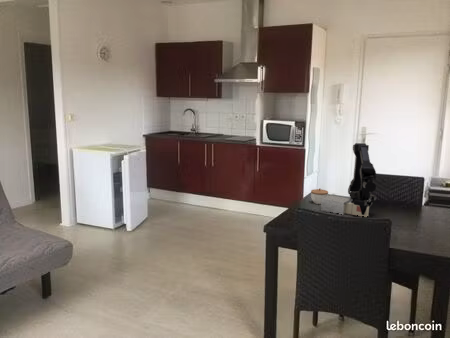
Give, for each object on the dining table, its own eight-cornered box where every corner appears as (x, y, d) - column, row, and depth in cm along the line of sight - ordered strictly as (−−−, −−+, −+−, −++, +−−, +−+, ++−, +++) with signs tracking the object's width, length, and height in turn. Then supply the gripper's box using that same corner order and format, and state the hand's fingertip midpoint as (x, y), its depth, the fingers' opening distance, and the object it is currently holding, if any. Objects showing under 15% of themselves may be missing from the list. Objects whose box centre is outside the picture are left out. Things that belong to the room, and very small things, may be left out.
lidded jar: (323, 206, 256) (324, 191, 255) (307, 203, 263) (308, 188, 261) (330, 202, 265) (331, 188, 263) (314, 199, 271) (315, 185, 269)
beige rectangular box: (337, 209, 247) (337, 200, 246) (368, 216, 235) (369, 206, 234) (335, 211, 245) (335, 201, 244) (366, 217, 233) (367, 207, 232)
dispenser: (328, 206, 255) (329, 195, 253) (351, 211, 246) (352, 199, 244) (320, 210, 246) (321, 198, 245) (344, 215, 237) (345, 202, 236)
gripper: (358, 183, 244) (356, 208, 247) (345, 188, 230) (344, 215, 233) (377, 185, 237) (375, 211, 240) (365, 191, 223) (363, 219, 226)
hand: (364, 214), depth 235 cm, fingers closed on beige rectangular box, 3 cm apart
